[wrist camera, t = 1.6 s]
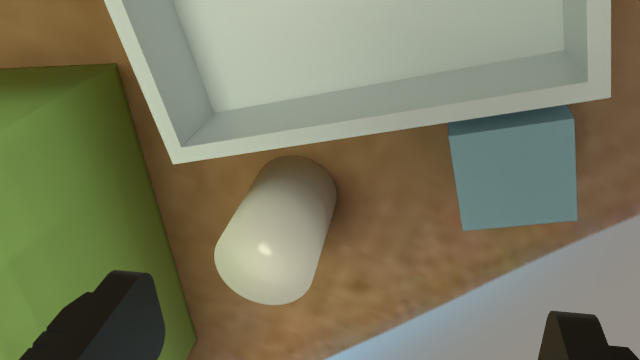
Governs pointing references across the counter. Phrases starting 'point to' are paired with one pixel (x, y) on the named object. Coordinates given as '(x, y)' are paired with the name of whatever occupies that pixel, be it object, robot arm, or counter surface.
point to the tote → (353, 65)
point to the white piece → (278, 232)
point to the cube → (515, 168)
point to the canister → (75, 203)
